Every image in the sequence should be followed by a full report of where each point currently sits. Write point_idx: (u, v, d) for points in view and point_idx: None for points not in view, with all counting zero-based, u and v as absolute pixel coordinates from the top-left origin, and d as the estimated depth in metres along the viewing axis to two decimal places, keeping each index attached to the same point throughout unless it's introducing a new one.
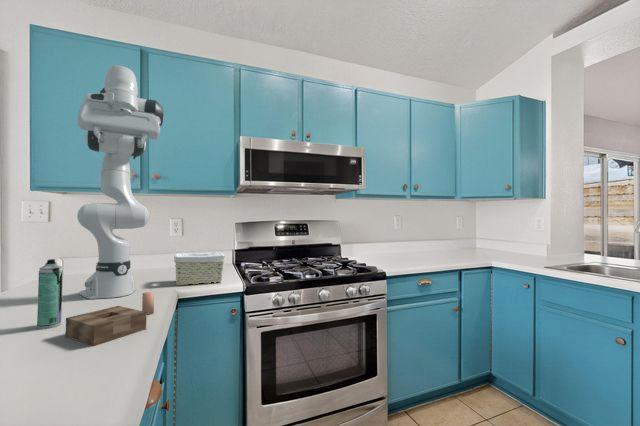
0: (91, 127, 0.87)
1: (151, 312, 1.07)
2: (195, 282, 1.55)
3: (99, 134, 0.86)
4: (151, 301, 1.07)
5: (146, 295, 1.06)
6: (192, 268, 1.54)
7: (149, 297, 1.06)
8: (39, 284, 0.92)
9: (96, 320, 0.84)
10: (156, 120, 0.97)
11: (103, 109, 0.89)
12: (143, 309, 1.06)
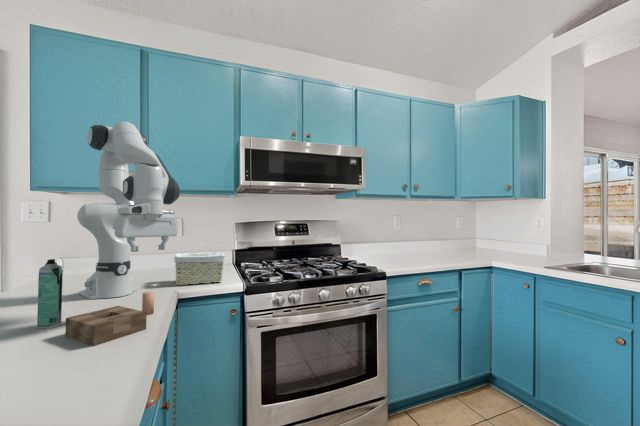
0: (127, 237, 1.00)
1: (151, 312, 1.07)
2: (195, 282, 1.55)
3: (134, 246, 1.01)
4: (151, 301, 1.07)
5: (146, 295, 1.06)
6: (192, 268, 1.54)
7: (149, 297, 1.06)
8: (39, 284, 0.92)
9: (96, 320, 0.84)
10: (176, 222, 1.13)
11: (138, 219, 1.01)
12: (143, 309, 1.06)
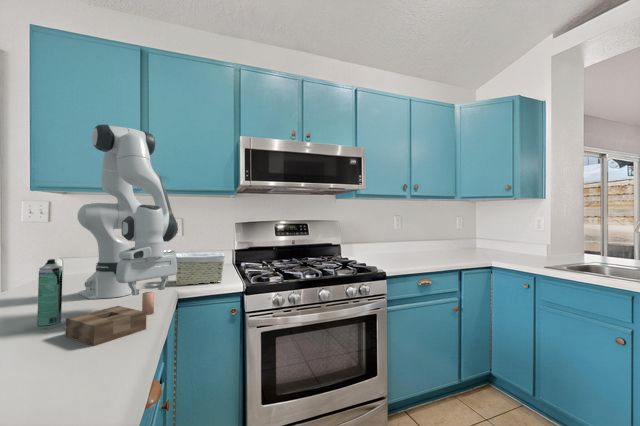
0: None
1: (151, 312, 1.07)
2: (195, 282, 1.55)
3: (135, 290, 1.02)
4: (151, 301, 1.07)
5: (146, 295, 1.06)
6: (192, 268, 1.54)
7: (149, 297, 1.06)
8: (39, 284, 0.92)
9: (96, 320, 0.84)
10: (175, 261, 1.15)
11: (140, 263, 1.03)
12: (143, 309, 1.06)
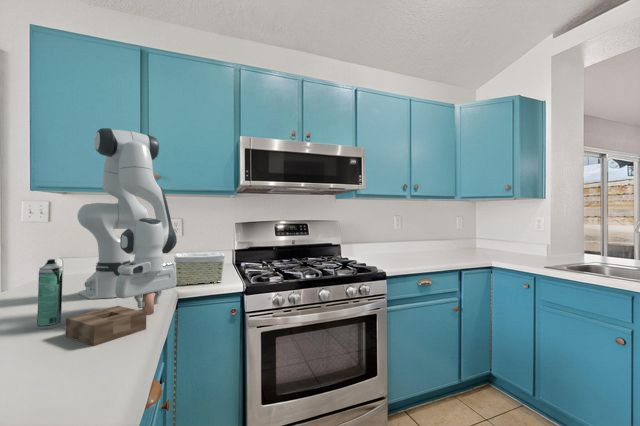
0: None
1: (151, 312, 1.07)
2: (195, 282, 1.55)
3: (141, 303, 1.05)
4: (151, 301, 1.07)
5: (146, 295, 1.06)
6: (192, 268, 1.54)
7: (149, 297, 1.06)
8: (39, 284, 0.92)
9: (96, 320, 0.84)
10: (175, 274, 1.15)
11: (139, 278, 1.03)
12: (143, 309, 1.06)
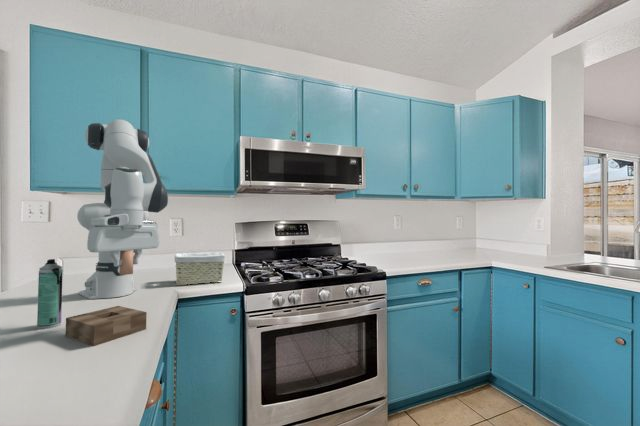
0: None
1: (130, 272, 0.95)
2: (195, 282, 1.55)
3: (118, 261, 0.93)
4: (130, 260, 0.95)
5: (124, 252, 0.94)
6: (192, 268, 1.55)
7: (127, 254, 0.94)
8: (39, 284, 0.92)
9: (96, 320, 0.84)
10: (157, 233, 1.03)
11: (115, 231, 0.91)
12: (120, 268, 0.94)
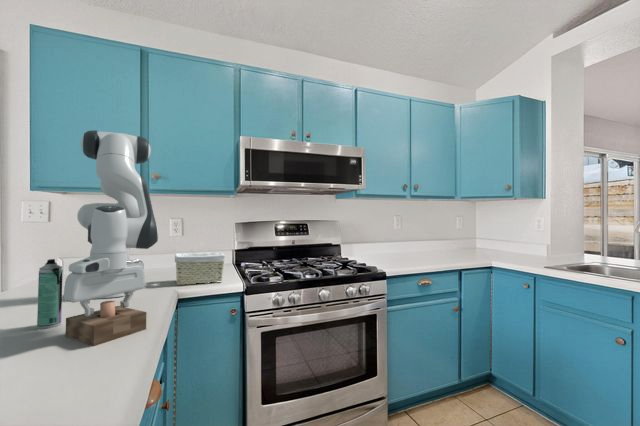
0: None
1: None
2: (196, 281, 1.55)
3: (89, 310, 0.84)
4: (111, 313, 0.88)
5: (104, 305, 0.87)
6: (193, 268, 1.55)
7: (107, 307, 0.88)
8: (39, 284, 0.92)
9: (96, 320, 0.84)
10: (142, 273, 0.97)
11: (95, 277, 0.85)
12: None
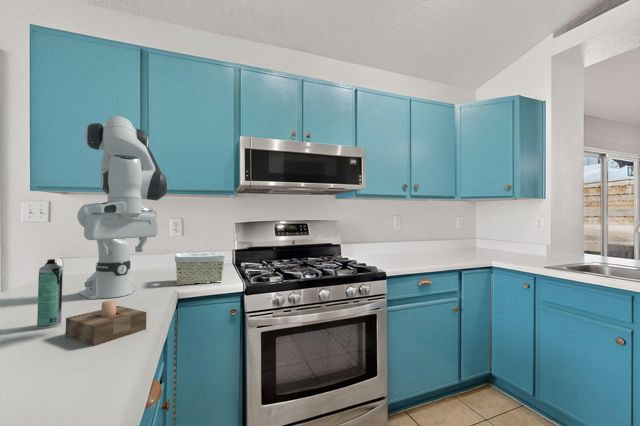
0: None
1: None
2: (196, 281, 1.56)
3: (107, 249, 0.90)
4: (111, 313, 0.89)
5: (105, 305, 0.88)
6: (193, 268, 1.55)
7: (109, 307, 0.88)
8: (39, 284, 0.92)
9: (96, 320, 0.84)
10: (156, 221, 1.02)
11: (112, 219, 0.90)
12: None
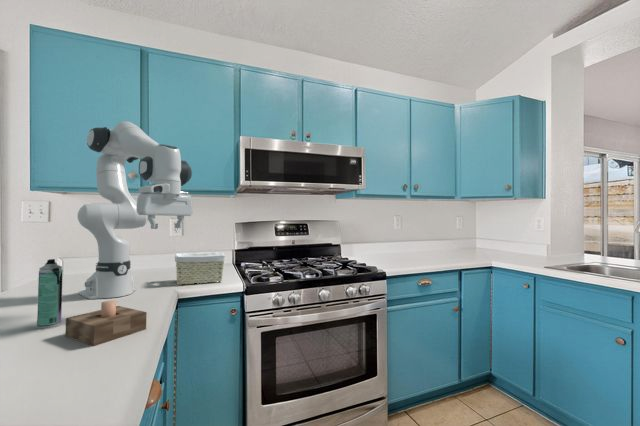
0: (147, 215, 1.06)
1: None
2: (196, 281, 1.56)
3: (154, 224, 1.07)
4: (111, 312, 0.89)
5: (105, 305, 0.88)
6: (193, 268, 1.55)
7: (108, 307, 0.88)
8: (39, 284, 0.92)
9: (96, 320, 0.84)
10: (191, 203, 1.19)
11: (159, 198, 1.07)
12: None
